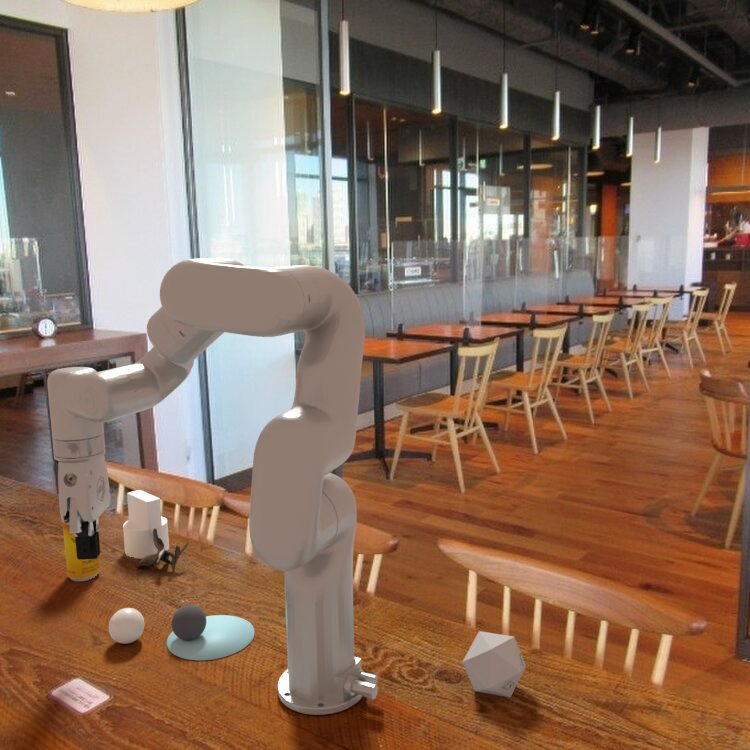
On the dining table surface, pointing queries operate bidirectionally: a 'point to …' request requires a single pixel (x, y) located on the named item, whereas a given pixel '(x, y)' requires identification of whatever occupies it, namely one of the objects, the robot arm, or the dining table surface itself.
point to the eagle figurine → (162, 553)
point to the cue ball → (126, 625)
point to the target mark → (214, 639)
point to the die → (494, 664)
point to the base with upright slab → (144, 525)
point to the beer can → (76, 567)
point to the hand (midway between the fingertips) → (88, 556)
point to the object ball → (188, 622)
